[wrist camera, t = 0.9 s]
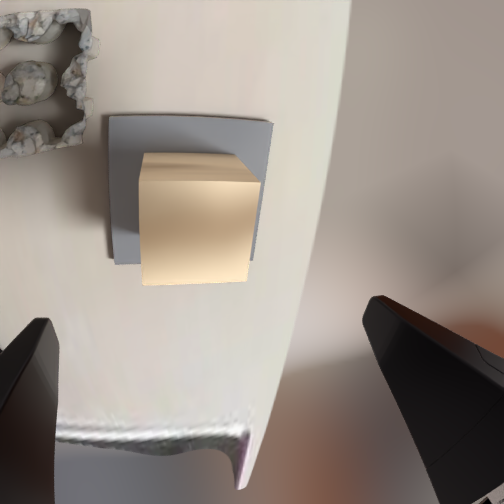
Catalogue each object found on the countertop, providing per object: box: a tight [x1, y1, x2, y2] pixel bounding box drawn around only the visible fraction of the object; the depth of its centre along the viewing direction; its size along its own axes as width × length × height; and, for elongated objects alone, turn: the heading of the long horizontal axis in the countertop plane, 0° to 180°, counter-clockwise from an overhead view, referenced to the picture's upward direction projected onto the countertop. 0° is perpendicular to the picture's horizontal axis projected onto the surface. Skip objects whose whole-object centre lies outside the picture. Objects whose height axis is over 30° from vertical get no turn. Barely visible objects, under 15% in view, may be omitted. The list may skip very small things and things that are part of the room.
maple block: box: [139, 153, 261, 286], centre depth 16 cm, size 5×5×5 cm
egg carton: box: [0, 9, 100, 158], centre depth 10 cm, size 11×8×4 cm
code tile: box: [108, 115, 274, 265], centre depth 18 cm, size 9×9×1 cm
